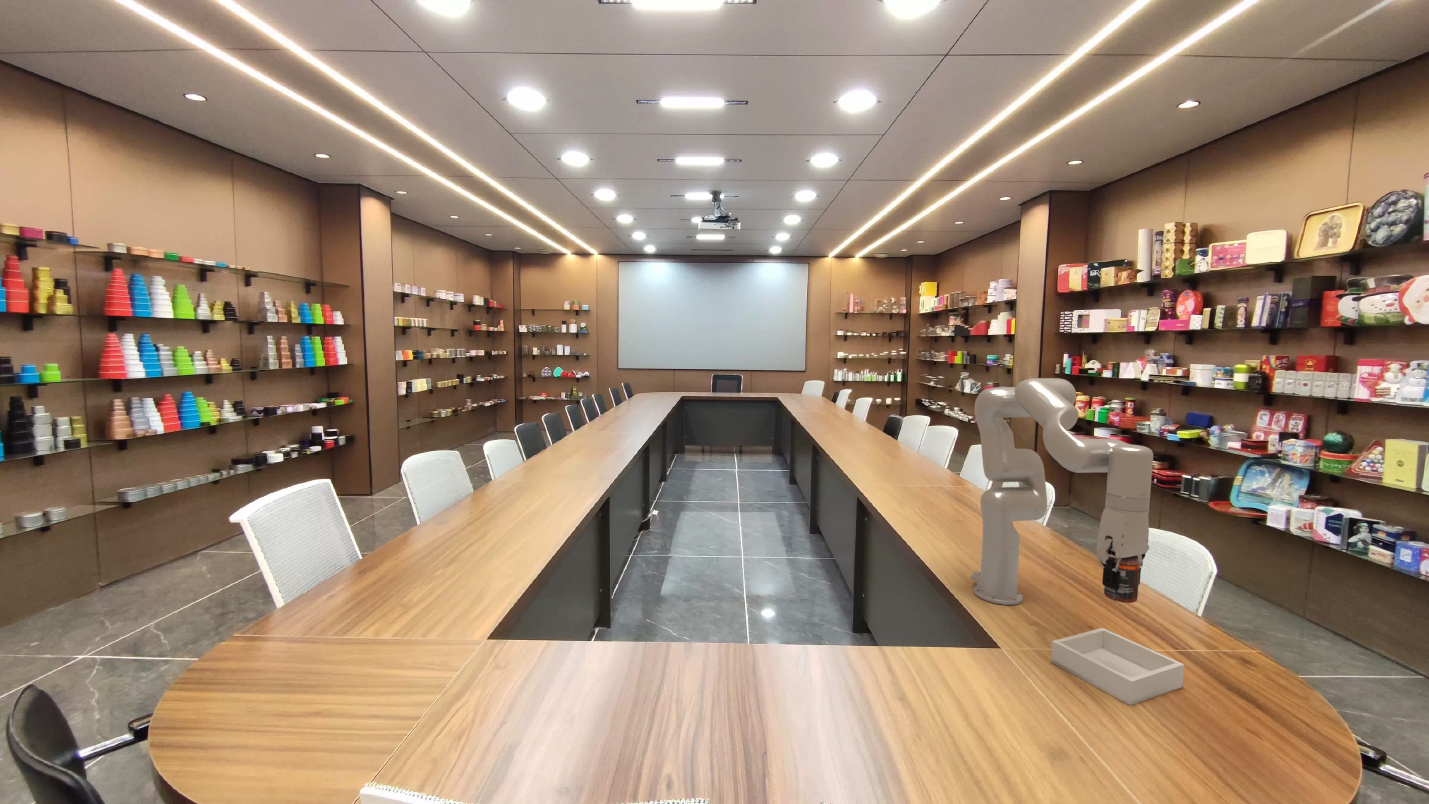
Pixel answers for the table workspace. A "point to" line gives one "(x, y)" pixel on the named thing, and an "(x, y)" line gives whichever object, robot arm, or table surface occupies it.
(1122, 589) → the supplement bottle
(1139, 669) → the tray
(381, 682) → the table surface
